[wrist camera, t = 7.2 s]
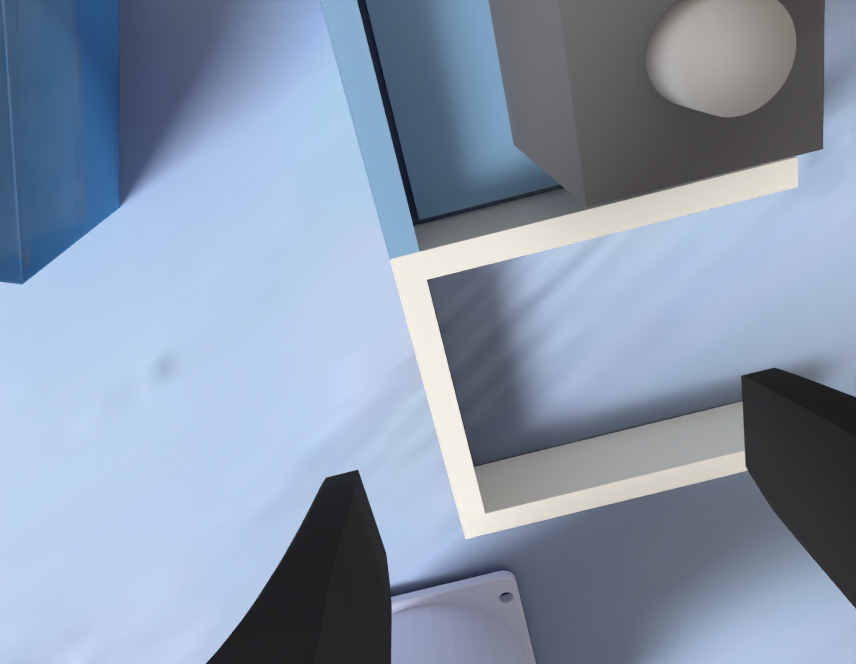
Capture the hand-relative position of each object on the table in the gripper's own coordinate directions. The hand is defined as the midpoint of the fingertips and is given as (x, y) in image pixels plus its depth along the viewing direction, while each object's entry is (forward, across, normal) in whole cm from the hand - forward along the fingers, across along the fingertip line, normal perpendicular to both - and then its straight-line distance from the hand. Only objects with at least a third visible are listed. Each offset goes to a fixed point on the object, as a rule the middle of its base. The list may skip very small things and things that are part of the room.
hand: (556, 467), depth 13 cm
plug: (+9, -4, -6) cm, 12 cm away
